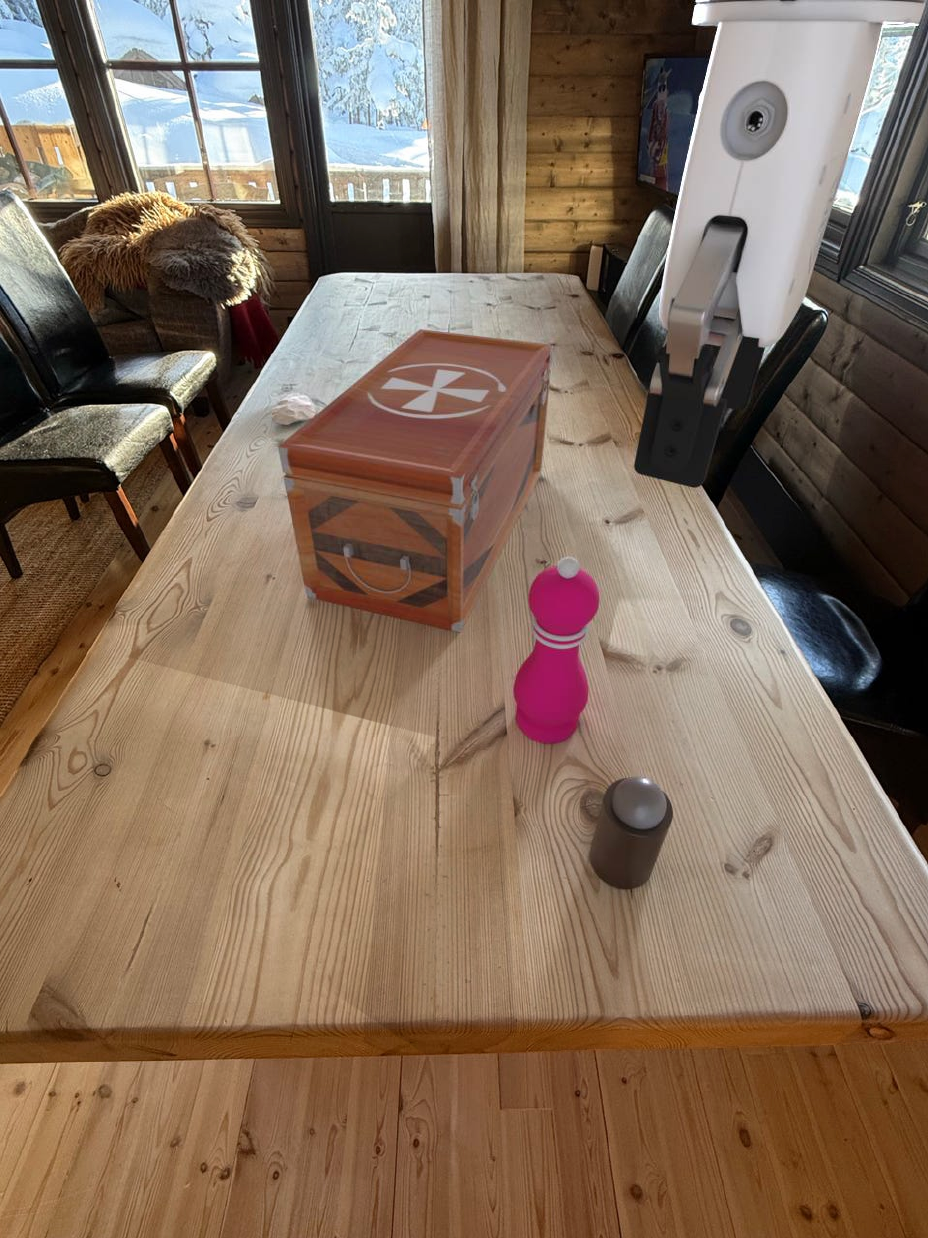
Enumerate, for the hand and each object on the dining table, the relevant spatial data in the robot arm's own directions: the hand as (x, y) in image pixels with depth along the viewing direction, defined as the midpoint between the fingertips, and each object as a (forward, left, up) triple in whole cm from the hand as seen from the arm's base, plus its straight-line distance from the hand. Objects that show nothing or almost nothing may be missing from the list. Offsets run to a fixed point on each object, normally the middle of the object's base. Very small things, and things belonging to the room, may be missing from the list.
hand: (694, 437), depth 34 cm
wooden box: (+36, -34, -36) cm, 61 cm away
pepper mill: (+9, -9, -36) cm, 39 cm away
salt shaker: (-3, +2, -36) cm, 36 cm away
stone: (+79, -54, -36) cm, 102 cm away
